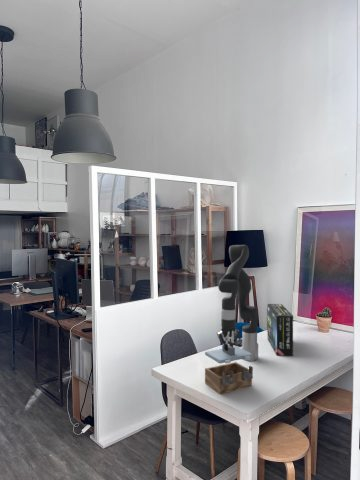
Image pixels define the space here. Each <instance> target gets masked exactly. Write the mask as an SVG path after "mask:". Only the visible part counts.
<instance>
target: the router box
mask: <svg viewBox="0 0 360 480" xmlns="http://www.w3.org/2000/svg"><path fill="white" fill-rule="evenodd" d="M266 313H267V340H268V343H269V345H270V346H271V348H272V349H273V352H274V353H275V355H276V356H280V357H281V356H282V357H289V356H290V357H291V356H292V357H293V356H294V315H293V314H292V313H291V312H290V311H289V310H288V309H287V308H286V307H285V306H284V305H283V304H281V303H267V308H266Z"/></svg>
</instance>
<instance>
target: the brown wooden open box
mask: <svg viewBox="0 0 360 480" xmlns="http://www.w3.org/2000/svg"><path fill="white" fill-rule="evenodd" d="M253 369H254V367H253V366H251V365H249V366H248V367H245V366H244V365H242V364H240V363H238V362H236V361H233V362H231V363H223V364H220V365H215V366H210V367H207V368H206V367H205V368H204V384H205V385H207V386H208V387H210V389H212V390H213V391H214V392H216V393H217V394H219V395H221V394H222V395H223V394H226V393H230V392H234V391H238V390H242V389H246V388H249V387H252V386H253V379H254V376H253V373H254V372H253V371H254V370H253Z"/></svg>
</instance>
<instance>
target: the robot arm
mask: <svg viewBox="0 0 360 480" xmlns="http://www.w3.org/2000/svg"><path fill="white" fill-rule="evenodd" d="M249 249H250V248H249V247H248V245H246V244H233V245H230V246H229V248H228V254H229V259H230V263H231V264H230V265H229V266H228V267H227V270H226V273H225V274H224V275H223V276H222V278H220V280H219V282H218V285H217V286H218V287H217V288H218V290H219V292H221V293H224V294H225V293H226V294H231V295H230V296H225V297H223V298H221V299H222V300H221V313H220V315H221V317H220V318H221V320H220V321H221V324H220V325H221V329H220V332H216V335H217V338H218V340H219V343H221V344H224V350H225V351H228V345H230V346H232V347H234V345H233V343H234V342H235V341H237V338H239V335H240V333H241V335H242V337H241V339H242V346H241V349H243V350H245V351H247V352H249V353H251V354H252V357H250V359H243V360H244V361H248V362H254V361H257V360H258V359H259V343H258V327H259V326H258V325H259V308H258V307H257V306H253V305H247V303H246V300H247V297H249V294H250V293H251V290H252V284H251V278H250V276H249V274H248V273H247V272H246V271H245V270H244V269H243V267H244V266H245V264H246V263H247V261H248V258H249V256H250V250H249ZM236 300H237V301H238V310H239V311H238V312H239V317H240V319H241V320H242V321H249V322H250V323H249V324H246V325H243V326H242V327H241V328H242V331H240V330H239V329H237V328H236V325H237V322H236V320H237V311H236ZM228 340H229V344H228Z"/></svg>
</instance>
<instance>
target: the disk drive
mask: <svg viewBox="0 0 360 480" xmlns="http://www.w3.org/2000/svg"><path fill="white" fill-rule="evenodd" d="M228 345H229V340H228ZM234 346H237V347H239V348H241V347H242V338H239V337H238V338H237V341H235V342H234V343H233V347H234Z"/></svg>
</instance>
